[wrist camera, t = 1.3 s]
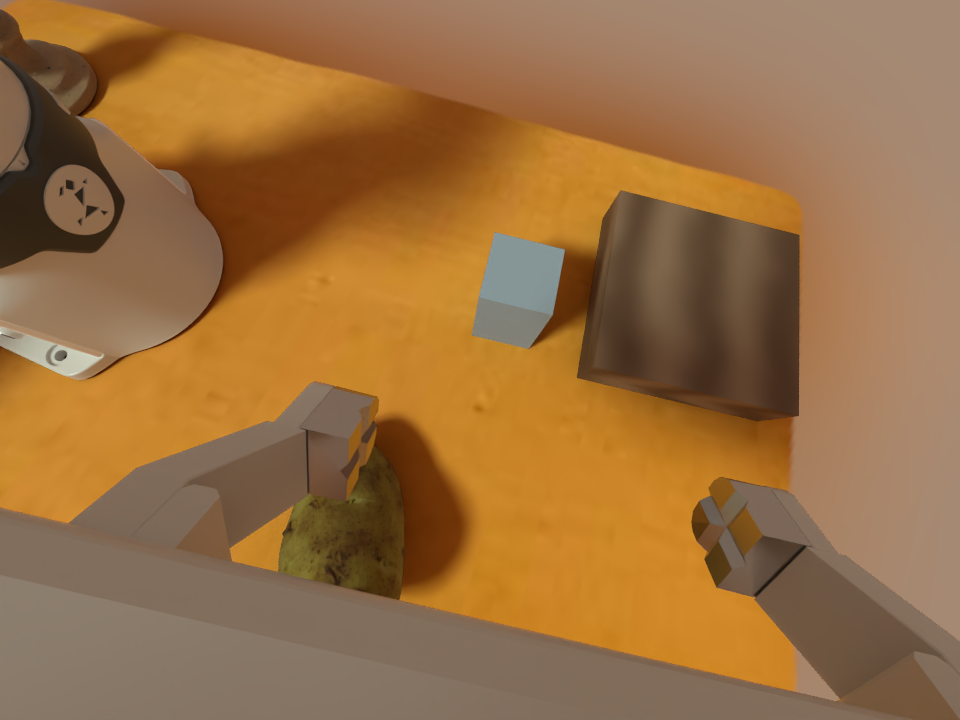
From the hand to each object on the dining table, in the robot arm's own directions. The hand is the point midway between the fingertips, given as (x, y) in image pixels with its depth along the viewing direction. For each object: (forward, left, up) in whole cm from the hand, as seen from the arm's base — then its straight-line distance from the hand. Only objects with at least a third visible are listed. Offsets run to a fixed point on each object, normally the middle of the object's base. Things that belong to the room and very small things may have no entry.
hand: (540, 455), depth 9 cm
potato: (-7, -7, -22) cm, 24 cm away
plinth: (+15, +16, -22) cm, 31 cm away
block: (0, +12, -22) cm, 25 cm away
